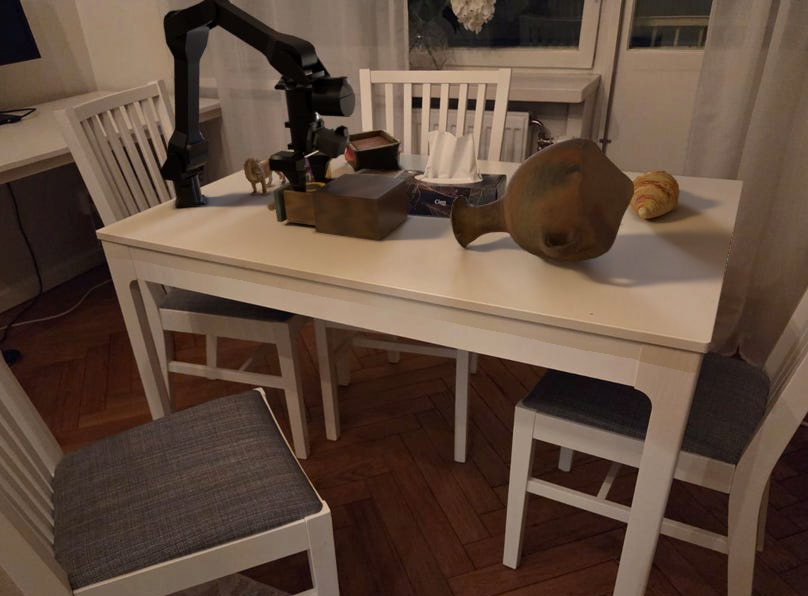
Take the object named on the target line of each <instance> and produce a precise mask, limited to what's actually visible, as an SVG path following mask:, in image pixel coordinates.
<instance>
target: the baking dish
mask: <svg viewBox="0 0 808 596" xmlns="http://www.w3.org/2000/svg"><path fill="white" fill-rule="evenodd" d="M349 137H350V138H349V140H350V144H348V145H346V150H345V154H344V155H343V156H344V160H345V161H346V164H349V165H350V166H351V169H352V170H353V171H354V173H358V172H360V171H363V170H372V171H373V170H374V171H385V172H393V171H402V167H401V165H400V158H401V157H400V156H401V152H402V149H401V147H400V146H401V144H402V141H401V140H400V139H397V138H396V137H395V136H393V135H392V134H390V133H389V132H388V131H387V130H385V129H381V128H380V129H372V130H365V131H359V132H353V133H349Z"/></svg>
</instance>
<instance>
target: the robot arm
mask: <svg viewBox="0 0 808 596" xmlns="http://www.w3.org/2000/svg"><path fill="white" fill-rule="evenodd" d="M162 24H163V30H164V39H165V43H166V46H167V48H168V49H169V51H170V54H171V55H172V57H173V77H174V78H173V81H174V82H173V86H174V88H173V91H174V129H173V132H172V133H171V135H170V138H169V140H168V142H167V149H166V159H165V161H164V163H163V164H162V166H161V168H160V169H159V173H160V175H161V177H162V179H163V180H164V181H170V182H172V185H173V189H174V190H173V191H174V194H175V202H174V208H176V209H178V208H186V207H187V208H188V207H194V206H203V205H205V204H206V196H205V194H202V189H201V185H200V179H199V175H198V174H200V173H204V172H205V170H206V163H207V162H208V158H210V157H211V156H210V151H209V147H210V140H209V139H207V138H204V137H203V134H202V133H201V131H200V78H201V77H200V76H201V75H200V74H201V73H200V70H201V68H200V67H201V66H200V65H201V64H200V63H201V60H202V59H201V58H202V56H203V55H204V53H205V51H206V48H207V46H208V42H209V35H210V31H211V30H213V29H215V28H217V27H220V28H222V29H223V30H224V31H226V32H228V33H230V34H231V35H233V36H234V37H236V38H237V39H239V40H241V41H242V42H244V43H245V44H247V45H248V46H250V47H251V48H253V49H255V50H256V51H258V52H260V53H261V54H262V56H264V57H265V58H266V60H267V62H268V64H269V65H270V67H272V68H273V69H274V70H275V71H276V72H278V73H279V74H280V78H279V80H278V81H277V83H276V84H275V85H274V87H273V88H274V90H276V91H284V95H285V102H286V111H287V118H288V119H287V120H286V121H284V128H285V129H289V133H290V134H289V135H290V141H291V142H289V143H288V144H286V146H287V150H280V151H277V152H275V153H273V154H271V155H270V157H269V158H267V159H268V161H269V168H270V171H273V172H274V171H279V172H282V173H283V174H284V176H285V179H286V181H288V182H290V184H291V185H292V187H293V189H294V190H295V191H298V192H306V174H307V172H308V171H309V170H310V168H311V171H312V174H313V177H314V180H315V182H320V183H324V184H325V180H326V177H327V174H328V169H329V165H330V162H331V161H332V160H336V159H338V158H339V157H340V156H344V154H345V152H346V145H348V144H350V140H349V138H350V137H349V134H350V132H349V127H348V126H345V125H343V124H341V125H339V126H337V127H336V128H335V129H334V128H332V127H331V128H327V127H326V123H325V120H324V118H323V117H339V118H340V117H341V118H349V117H351V116H352V115H353V113H354V111H355V108H356V100H357V99H356V94H355V92H354V89H353V87H352V85H351V84H350V83H349V78H348V76H347V75H346V76H344V75H343V76H338V77H334V76H332V75H331V74H330V72H329V71H328V69H327V68H326V67H325V65H324V64H323V62H322V61H321V59H320V58H319V57H318V54H317V51H316V47H315V45H313V43H312V42H311V41H308V40H306V39H303V38H302V37H298V36H296V35H292V34H288V33H284V32H281V31H278V30H275V29H274V28H272V27H270V26H269V25H267V24H265V23H264V22H262V21H261V20H259V19H258V18H256V17H254V16H253V15H252V14H250V13H248V12H246V11H245V10H243V9H242V8H240V7H238V6H236V5H235V4H234V3H232V2H231V1H230V0H202V1H200V2H198V3H195V4H194V5H191V6H188V7H186V8H180V9H172V10H169V11H168V12H167V13H166V14H165V15H164V16H163V21H162ZM331 76H332V77H331ZM319 116H321V117H320V118H318V117H319ZM306 158H307V159H308V162H309V165H310V167H305V165H306Z"/></svg>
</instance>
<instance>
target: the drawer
mask: <svg viewBox="0 0 808 596" xmlns="http://www.w3.org/2000/svg"><path fill="white" fill-rule="evenodd" d="M336 178H337V177H329V176H326V180H325V184H327V183H329V182H331V181H332V180H334V179H336ZM311 182H315V180H314V177H313V176H311ZM306 183H310V178H309V175H308V174H306ZM272 194H273V202H271V203H269V204H268V205H267V209H268V211H270V212H272V211H275V214H276V221H277V223H284V222H285V221H286V222H287V223H296V224H301V225H310V226H315V217H314V208H313V199H312V193H307V192H298V191H295V190H294V189H293V187H292V185H291V184H290V182H289V181H288V182H286V184H282V185H281V186H279V187H277V188H275V189H273V190H272Z"/></svg>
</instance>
